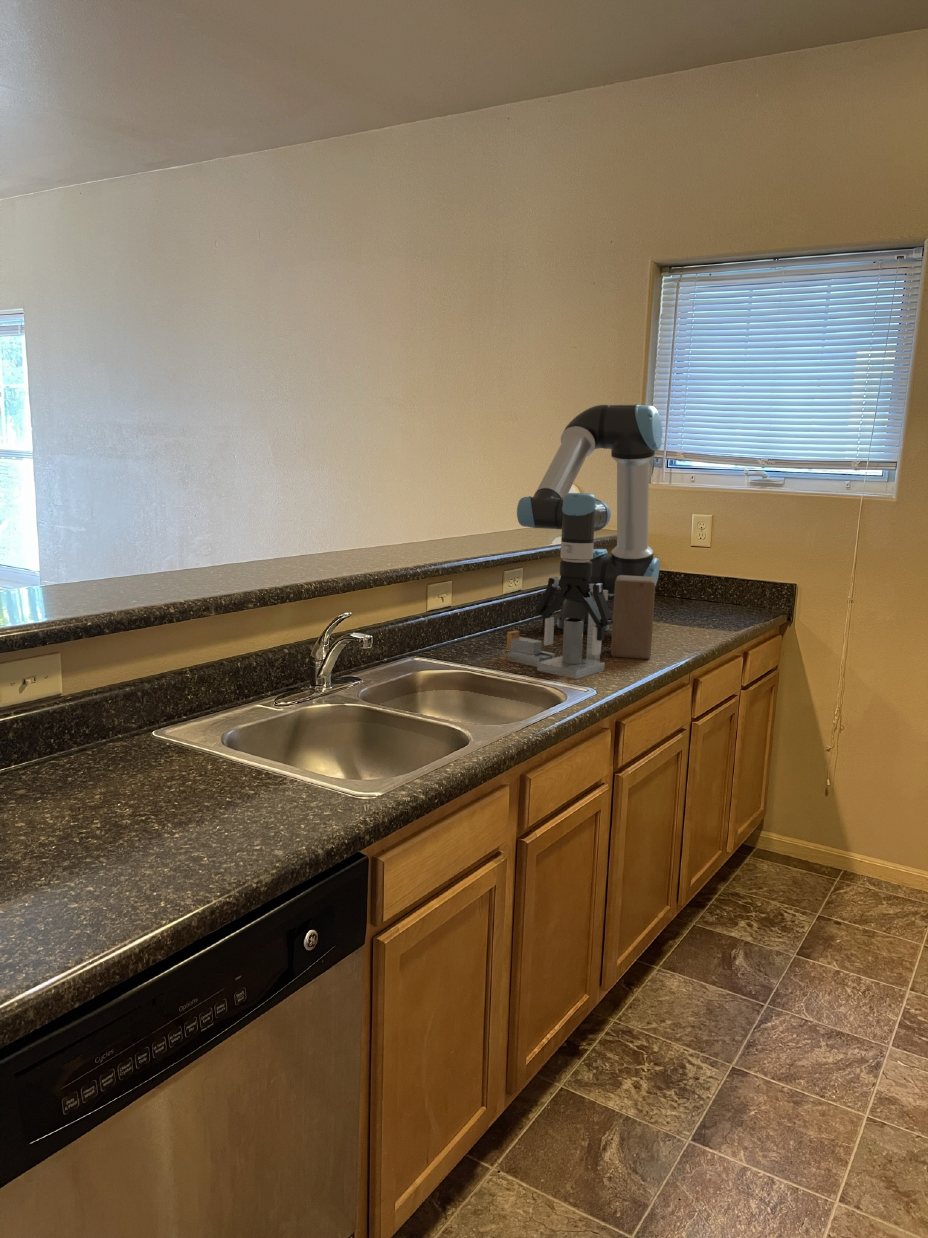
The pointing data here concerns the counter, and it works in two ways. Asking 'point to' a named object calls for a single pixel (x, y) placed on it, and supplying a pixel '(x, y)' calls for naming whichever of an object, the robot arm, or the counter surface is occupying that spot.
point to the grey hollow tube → (572, 640)
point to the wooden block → (633, 616)
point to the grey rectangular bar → (523, 644)
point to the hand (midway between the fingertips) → (571, 649)
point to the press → (555, 665)
